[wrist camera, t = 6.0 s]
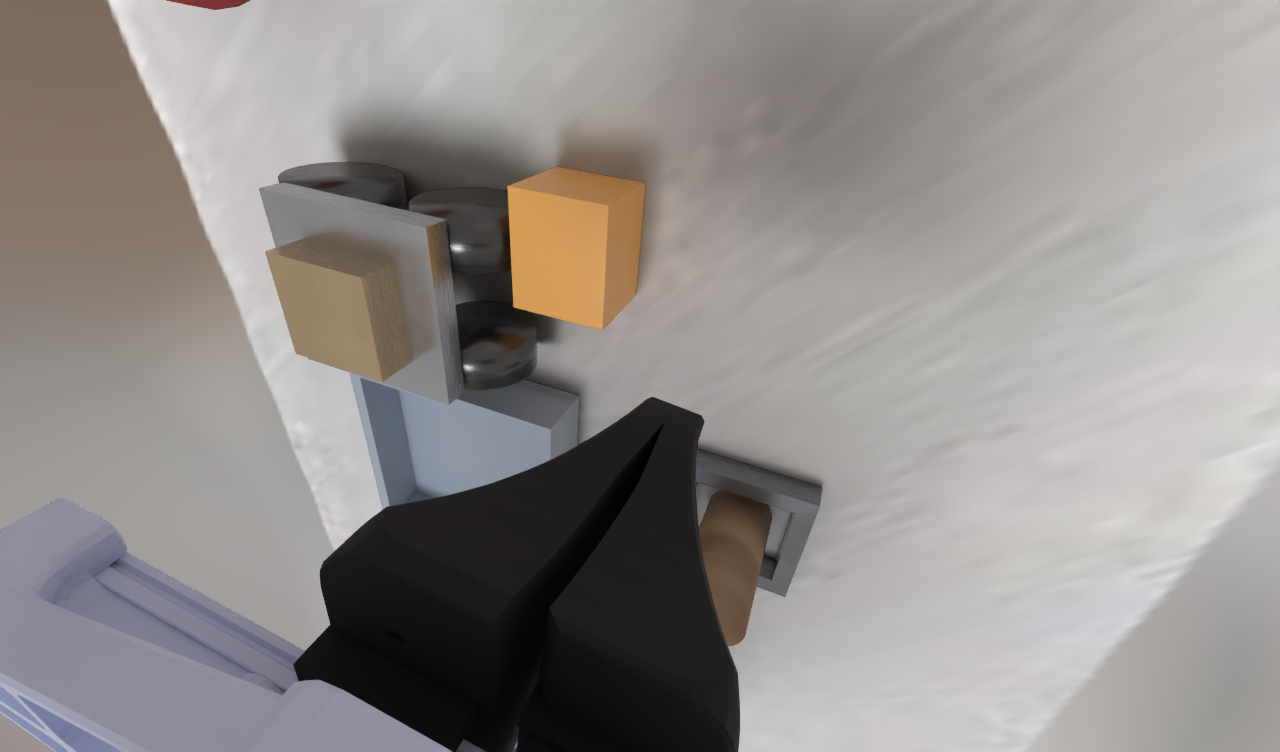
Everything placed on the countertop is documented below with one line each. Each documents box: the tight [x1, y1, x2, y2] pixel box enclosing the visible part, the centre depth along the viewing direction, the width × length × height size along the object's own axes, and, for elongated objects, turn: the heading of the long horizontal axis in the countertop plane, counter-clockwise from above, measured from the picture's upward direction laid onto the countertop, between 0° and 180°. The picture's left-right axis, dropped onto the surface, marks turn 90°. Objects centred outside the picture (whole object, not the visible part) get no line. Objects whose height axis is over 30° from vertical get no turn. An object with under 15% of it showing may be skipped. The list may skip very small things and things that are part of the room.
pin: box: [699, 490, 772, 646], centre depth 23 cm, size 3×3×6 cm
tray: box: [349, 372, 579, 509], centre depth 29 cm, size 11×11×3 cm
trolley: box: [259, 162, 537, 405], centre depth 22 cm, size 7×10×7 cm
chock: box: [507, 167, 646, 330], centre depth 20 cm, size 4×4×4 cm
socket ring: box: [696, 449, 822, 597], centre depth 25 cm, size 6×6×1 cm
